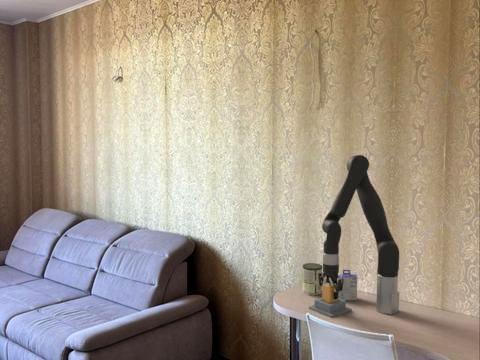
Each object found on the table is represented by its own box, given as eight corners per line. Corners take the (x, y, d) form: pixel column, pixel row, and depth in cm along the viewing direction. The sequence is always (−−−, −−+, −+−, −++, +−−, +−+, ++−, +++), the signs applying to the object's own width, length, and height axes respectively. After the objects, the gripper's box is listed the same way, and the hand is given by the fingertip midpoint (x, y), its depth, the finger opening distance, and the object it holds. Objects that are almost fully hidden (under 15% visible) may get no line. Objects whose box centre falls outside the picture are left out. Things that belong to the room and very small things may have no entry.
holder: (351, 310, 215) (351, 301, 215) (331, 317, 207) (331, 308, 206) (328, 302, 226) (328, 293, 226) (308, 308, 218) (309, 299, 217)
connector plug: (338, 307, 216) (338, 282, 215) (329, 310, 213) (329, 284, 212) (330, 304, 220) (330, 280, 219) (322, 307, 216) (322, 282, 215)
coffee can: (304, 287, 248) (305, 262, 247) (323, 289, 245) (324, 264, 243) (300, 293, 239) (300, 267, 238) (319, 296, 235) (320, 269, 234)
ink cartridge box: (355, 296, 234) (355, 269, 233) (357, 300, 228) (358, 272, 227) (335, 296, 234) (336, 269, 233) (337, 300, 229) (338, 272, 227)
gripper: (348, 264, 211) (347, 299, 212) (324, 257, 222) (324, 291, 224) (337, 267, 206) (336, 303, 208) (314, 260, 218) (313, 294, 219)
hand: (330, 297), depth 216 cm, fingers open, 6 cm apart
